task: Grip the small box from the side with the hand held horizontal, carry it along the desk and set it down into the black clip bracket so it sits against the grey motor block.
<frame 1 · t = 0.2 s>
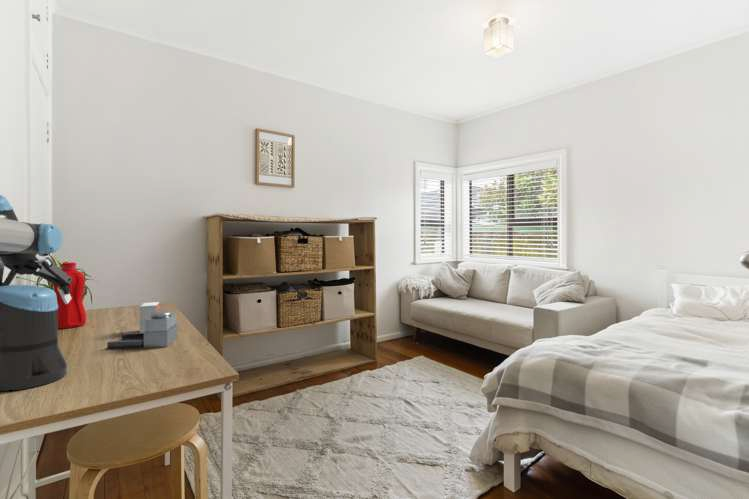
hand: (44, 302, 121), 15 cm above the table, tool tilted 35°, fingers open, 13 cm apart
water bottle: (69, 326, 150), on the table
small box: (150, 332, 143), on the table
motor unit: (132, 343, 128), on the table
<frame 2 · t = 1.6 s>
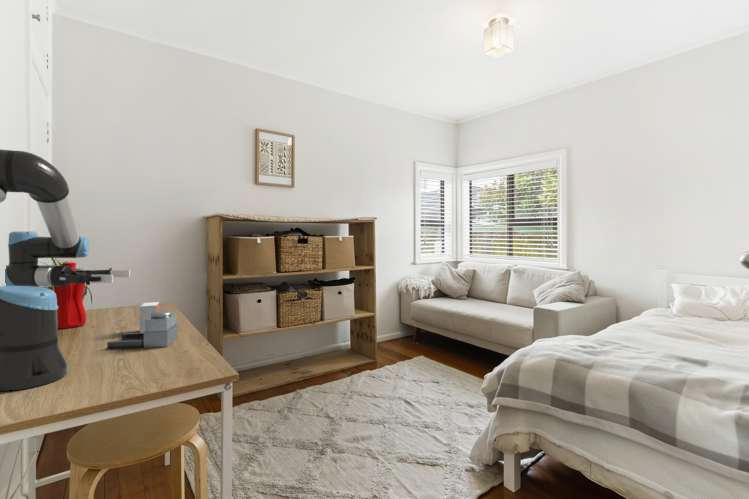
hand: (121, 276, 140), 21 cm above the table, tool horizontal, fingers open, 13 cm apart
nothing on the table moved.
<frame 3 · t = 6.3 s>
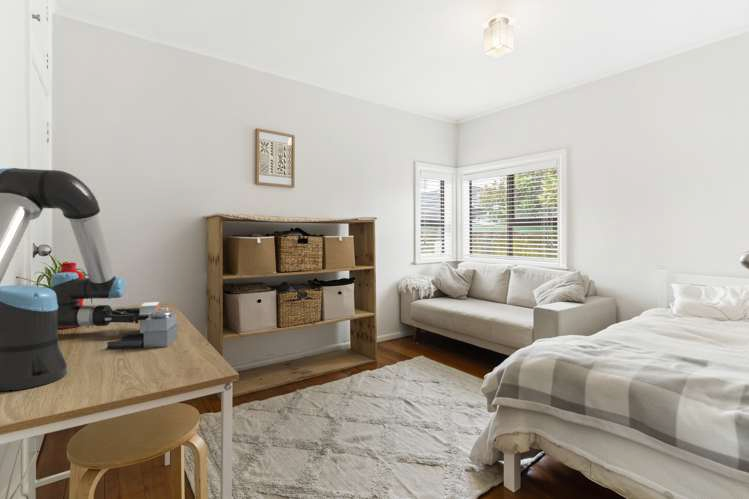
hand: (163, 314, 144), 7 cm above the table, tool horizontal, fingers closed on small box, 9 cm apart
small box: (150, 332, 143), on the table, touching gripper
everything else where it was.
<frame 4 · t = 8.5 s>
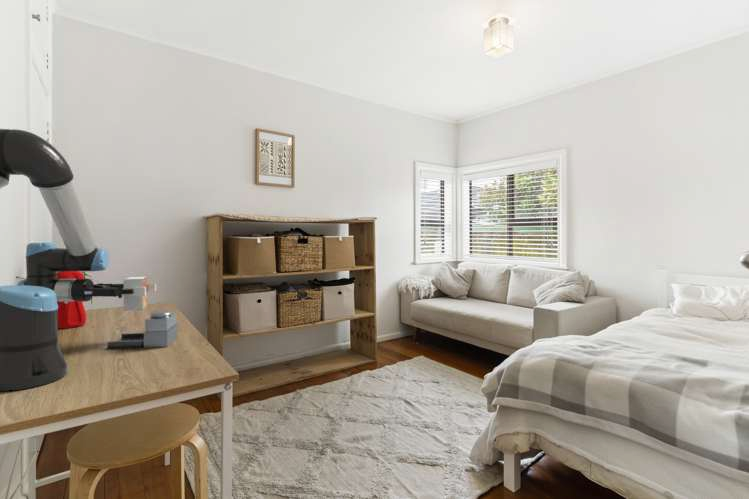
hand: (150, 289, 131), 18 cm above the table, tool horizontal, fingers closed on small box, 9 cm apart
small box: (135, 309, 130), point 11 cm above the table, touching gripper
everything else where it was.
when the fingers open (9 cm above the table, at t = 10.9 s): small box drops 1 cm, resting on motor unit.
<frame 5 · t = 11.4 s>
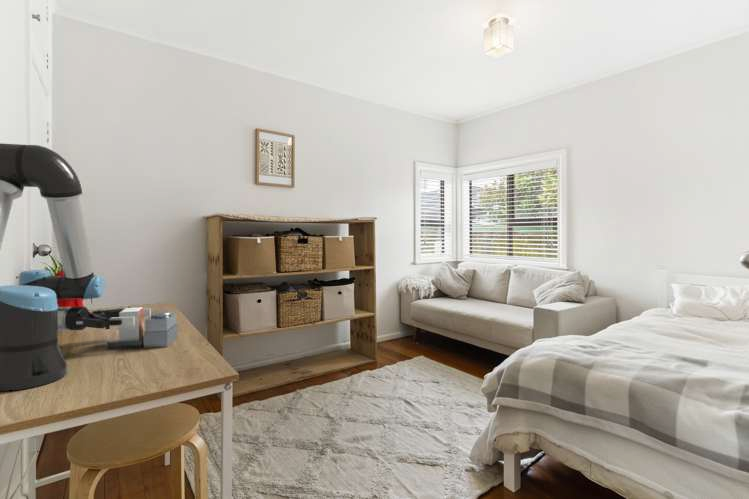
hand: (142, 316, 128), 9 cm above the table, tool horizontal, fingers open, 13 cm apart
small box: (132, 341, 128), point 1 cm above the table, touching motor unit
everything else where it was.
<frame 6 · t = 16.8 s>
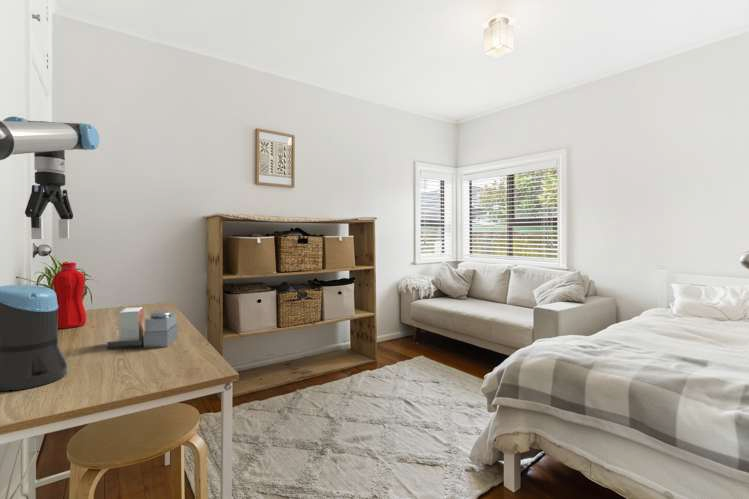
hand: (51, 238, 124), 35 cm above the table, tool pointing down, fingers open, 13 cm apart
nothing on the table moved.
at the end: small box 0.0 cm off-centre on the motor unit, point 0.8 cm above the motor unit's base; small box tilted 0°; the gripper is holding nothing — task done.
